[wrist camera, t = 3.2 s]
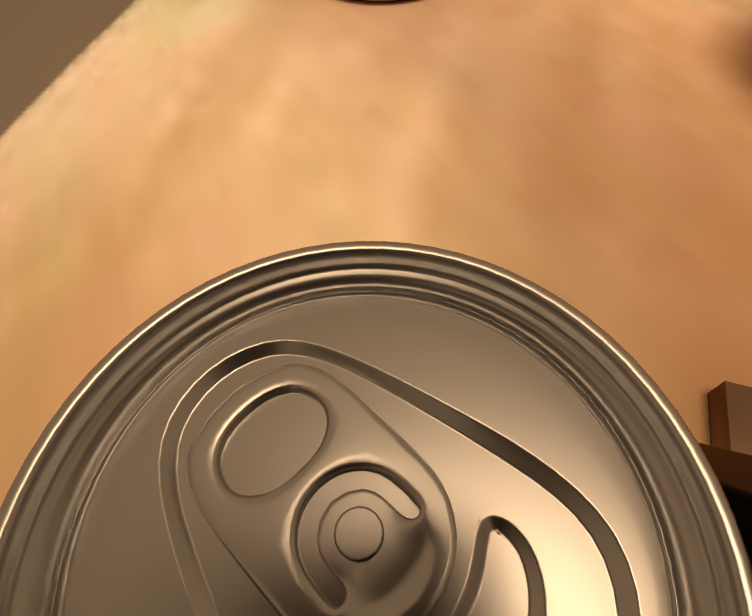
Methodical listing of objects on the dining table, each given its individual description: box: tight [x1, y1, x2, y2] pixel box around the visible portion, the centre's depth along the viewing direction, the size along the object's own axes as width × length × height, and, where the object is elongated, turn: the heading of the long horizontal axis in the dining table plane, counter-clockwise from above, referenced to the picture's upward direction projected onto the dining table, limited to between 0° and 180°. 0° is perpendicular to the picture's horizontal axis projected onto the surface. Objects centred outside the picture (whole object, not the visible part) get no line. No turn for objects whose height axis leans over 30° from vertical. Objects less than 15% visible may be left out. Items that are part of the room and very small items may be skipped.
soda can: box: [0, 241, 752, 616], centre depth 8 cm, size 7×7×12 cm
